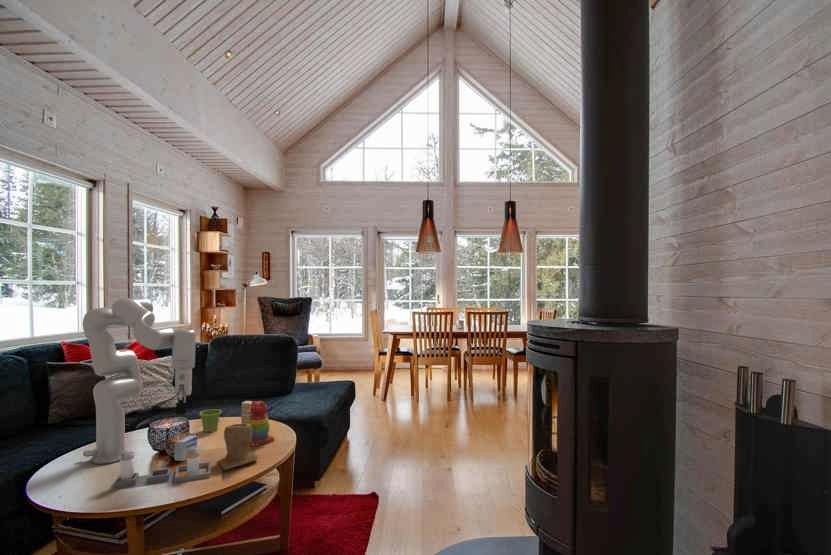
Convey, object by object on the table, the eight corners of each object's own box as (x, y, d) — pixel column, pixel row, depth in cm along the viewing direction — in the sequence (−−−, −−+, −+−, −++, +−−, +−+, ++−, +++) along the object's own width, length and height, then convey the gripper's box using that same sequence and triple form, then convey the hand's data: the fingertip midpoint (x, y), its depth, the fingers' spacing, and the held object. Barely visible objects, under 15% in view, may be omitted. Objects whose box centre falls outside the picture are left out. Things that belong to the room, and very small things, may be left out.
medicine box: (184, 465, 181) (184, 442, 181) (174, 464, 182) (174, 441, 182) (197, 457, 189) (197, 435, 189) (187, 456, 190) (187, 435, 190)
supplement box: (240, 430, 223) (240, 403, 223) (246, 427, 227) (246, 400, 227) (257, 431, 221) (257, 403, 221) (262, 428, 226) (262, 401, 226)
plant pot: (225, 430, 224) (225, 411, 224) (205, 435, 216) (205, 416, 216) (214, 426, 230) (214, 408, 230) (195, 431, 222) (195, 412, 222)
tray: (174, 486, 162) (174, 478, 162) (177, 474, 172) (177, 466, 172) (209, 481, 166) (209, 472, 166) (210, 469, 177) (210, 461, 177)
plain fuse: (119, 486, 159) (119, 456, 159) (121, 481, 163) (121, 452, 163) (132, 484, 161) (132, 454, 161) (134, 479, 164) (134, 450, 164)
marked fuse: (186, 479, 167) (186, 451, 167) (187, 475, 171) (187, 447, 171) (199, 477, 168) (199, 449, 168) (199, 473, 172) (199, 445, 172)
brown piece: (245, 454, 192) (245, 417, 192) (261, 462, 184) (262, 423, 184) (209, 466, 180) (209, 426, 180) (224, 474, 173) (225, 433, 173)
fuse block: (110, 495, 156) (110, 484, 156) (116, 483, 165) (116, 473, 165) (171, 486, 162) (171, 476, 162) (174, 475, 172) (174, 465, 172)
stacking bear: (276, 440, 210) (276, 399, 210) (260, 447, 201) (260, 405, 201) (257, 436, 214) (257, 397, 214) (240, 443, 205) (240, 402, 205)
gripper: (193, 367, 167) (191, 416, 167) (196, 358, 183) (194, 402, 183) (169, 368, 164) (167, 417, 164) (174, 359, 180) (173, 404, 180)
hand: (182, 409), depth 174 cm, fingers open, 9 cm apart
